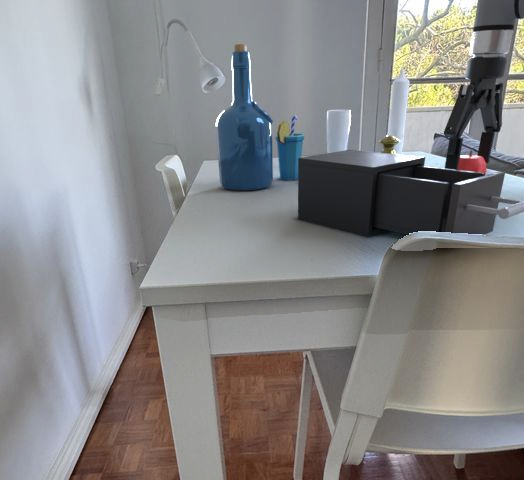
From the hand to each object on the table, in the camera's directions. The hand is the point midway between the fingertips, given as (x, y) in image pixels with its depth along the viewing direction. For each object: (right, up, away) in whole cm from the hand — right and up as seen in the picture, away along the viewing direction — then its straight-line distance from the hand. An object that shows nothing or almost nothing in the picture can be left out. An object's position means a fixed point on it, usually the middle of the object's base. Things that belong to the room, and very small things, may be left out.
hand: (467, 166), depth 107 cm
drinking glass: (-24, +13, +35) cm, 44 cm away
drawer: (-18, -23, -33) cm, 44 cm away
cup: (-39, +4, +20) cm, 44 cm away
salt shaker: (-14, +3, +16) cm, 22 cm away
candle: (-8, +12, +32) cm, 35 cm away
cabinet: (-29, -18, -20) cm, 40 cm away
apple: (0, -4, +2) cm, 5 cm away
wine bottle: (-50, -1, +11) cm, 52 cm away
